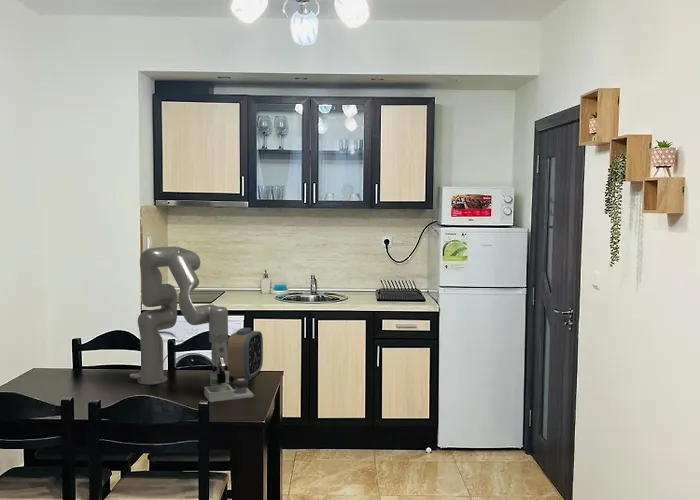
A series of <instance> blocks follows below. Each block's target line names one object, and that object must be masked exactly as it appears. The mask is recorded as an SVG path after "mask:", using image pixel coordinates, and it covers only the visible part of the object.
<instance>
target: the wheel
mask: <svg viewBox="0 0 700 500" xmlns="http://www.w3.org/2000/svg"><path fill="white" fill-rule="evenodd" d="M232 381H233V386H234V387H235V388H236V387H244V386H246V387H247V386H249V380H248V379H246V378H237V379H234V380H232Z"/></svg>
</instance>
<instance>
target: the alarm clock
mask: <svg viewBox="0 0 700 500" xmlns="http://www.w3.org/2000/svg"><path fill="white" fill-rule="evenodd" d="M263 345H264V338H263V334H262V332H261V331H260V330H258V331H257V330H252V327H242V328H239V329H238V330H236V331H235V332H234V333H232V334H230V336H228V341H227V354H228V366H226V367H227V370H226V371H229V378H230V377H232V378H233V379H237V378H246V379H248V381H251V380H252V379H254V378H255V377H256V376H257V375H258V374H259V372H260V371H261V370H262V367H263V362H264V361H263V360H264V346H263Z"/></svg>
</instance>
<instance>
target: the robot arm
mask: <svg viewBox="0 0 700 500" xmlns="http://www.w3.org/2000/svg"><path fill="white" fill-rule="evenodd" d="M139 267H140V273H141V303H142V304H143V306H144V307H147V308H153V309H149V310H145V311H143V312H141V313H140V314H138V317H137V326H138V330H139V331H138V332H139V338H140V339H139V340H140V343H139V344H140V370H139V372H137V373H129V379H135V380H136V379H137V383H138V384H140V385H148V386H149V385H158V384H163V383H165V382H167V381H168V376H166V375H164V373H165V372H164V340H163V337H162V335H161V333H160V331H163V330H168V329H172V328H173V327H175V326H176V324H177V319H178V307H179V310H180V311H181V314H182V316H183V318H184V319H185V321H186V322H187V324H189V325H191V326H199V325H204V324H205V325H206V324H208V342H209V343H211V350H210V351H211V352H210V353H211V354H210V355H211V363H212V372H214V371H217V370H218V373H217V383H218V384H220V383H225V382H226V377H225V371H226V367H227V366H228V354H227V344H228V339H229V310H228V308H227V307H226V306H217V305H214V304H202V305H197V306H195V305H194V303H193V301H192V299H191V292H193V291H194V290H195V289H197V287H198V286H199V284H200V279H199V278H198V275H197V274H196V272H195V271H197V270H199V268H200V267H201V259H200V257H199V255H198V254H197V253H196V252H195V251H192V250H190V249H186V248H182V247H179V246H161V247H160V246H159V247H151V248H147V249H145V250H144V251H143V252H142V253H141V254H140V258H139ZM163 267H165V268H167V267H168V269H169V270H170V272H171V275H172V277H173V278H174V280H175V282H176V284H177V286H178V288H179V289H180V290H179V295H178V293H177V290H176V288H175V286H173V285H172V284H170V283H163V275H162V271H161V270H160V268H163ZM154 307H160V308H154Z"/></svg>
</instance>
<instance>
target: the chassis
mask: <svg viewBox="0 0 700 500" xmlns="http://www.w3.org/2000/svg"><path fill="white" fill-rule="evenodd" d="M203 387H204V392H203V393H204V394H203V395H204V397H205V398H206V399H207V400H208V402H209V401H210V402H209V403H213V402H221V401H229V400H230V401H231V400H240V399H248V398H254V397H255V394H254V393H253V392H252V391H251V390H250V389H249V388H248V387H247V386H244V387H236V386H235V389H234V388H233V387H232V386H231V385H230V383H228V384H226V385H224V386H217V385H207V386H203Z"/></svg>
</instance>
